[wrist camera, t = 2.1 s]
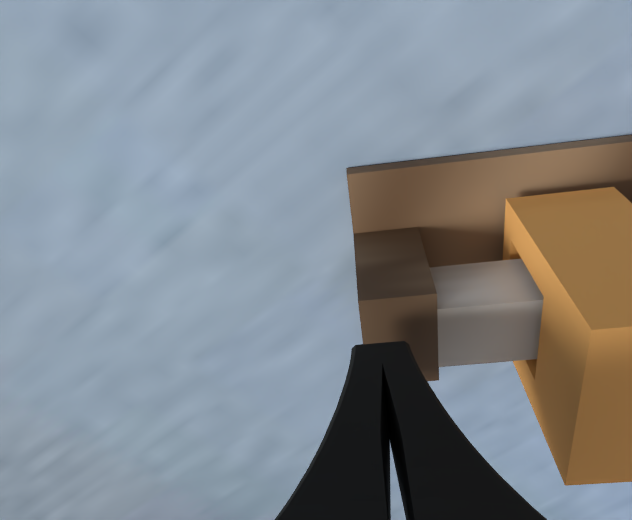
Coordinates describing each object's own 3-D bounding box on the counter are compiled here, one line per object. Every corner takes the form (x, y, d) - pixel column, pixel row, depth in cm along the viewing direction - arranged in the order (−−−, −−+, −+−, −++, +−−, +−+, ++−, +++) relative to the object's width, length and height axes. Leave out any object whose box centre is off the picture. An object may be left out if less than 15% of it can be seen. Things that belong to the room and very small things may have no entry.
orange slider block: (613, 186, 15) (756, 315, 10) (591, 319, 18) (697, 477, 13) (505, 198, 15) (591, 330, 10) (498, 327, 18) (565, 485, 13)
